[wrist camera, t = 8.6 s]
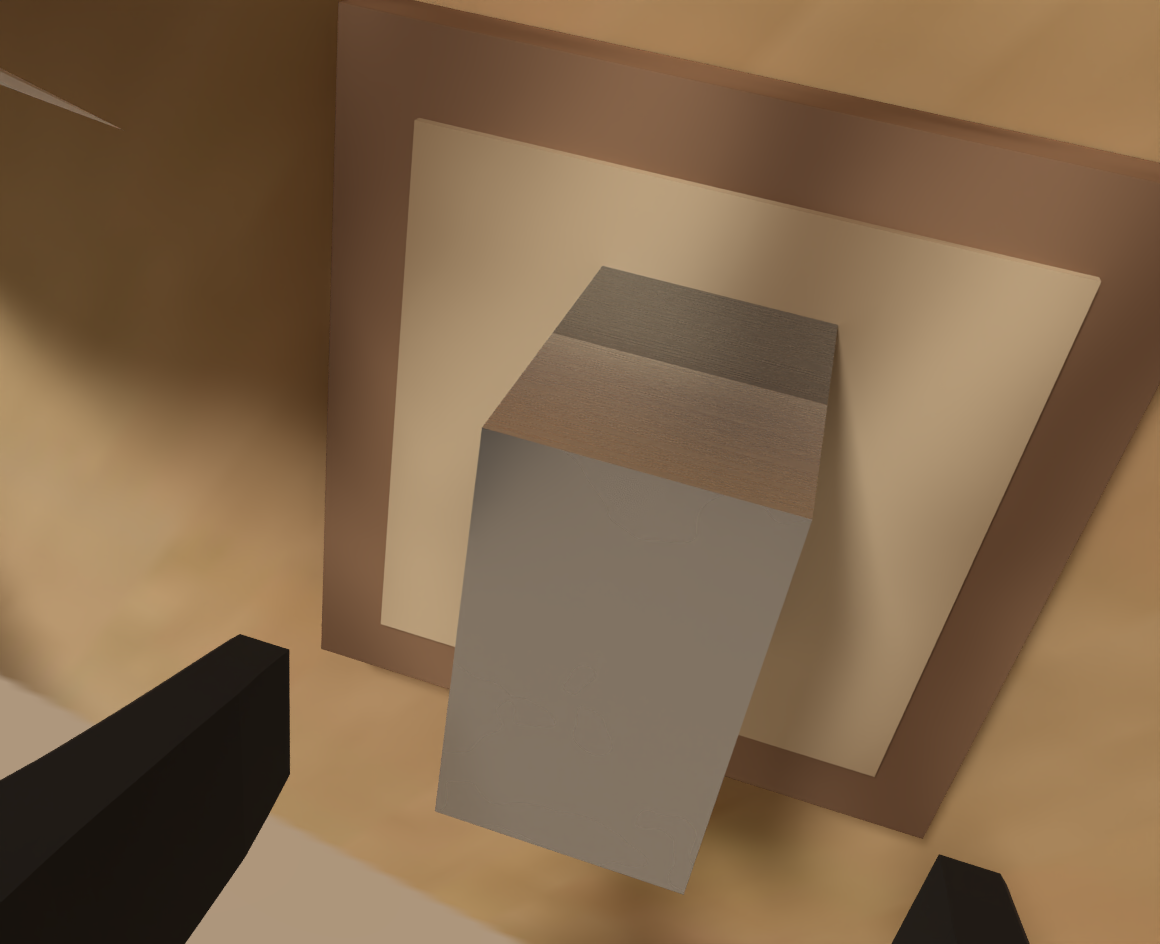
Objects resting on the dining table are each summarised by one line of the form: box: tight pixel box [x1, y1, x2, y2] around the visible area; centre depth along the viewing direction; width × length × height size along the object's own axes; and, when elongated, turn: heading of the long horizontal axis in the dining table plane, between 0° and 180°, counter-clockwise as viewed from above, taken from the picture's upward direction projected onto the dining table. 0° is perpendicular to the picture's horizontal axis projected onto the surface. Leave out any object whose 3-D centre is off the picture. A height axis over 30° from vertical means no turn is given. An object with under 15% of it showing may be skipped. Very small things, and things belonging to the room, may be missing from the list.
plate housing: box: [435, 266, 838, 895], centre depth 16 cm, size 4×7×6 cm, turn 170°
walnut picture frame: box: [321, 0, 1160, 839], centre depth 20 cm, size 14×14×2 cm
